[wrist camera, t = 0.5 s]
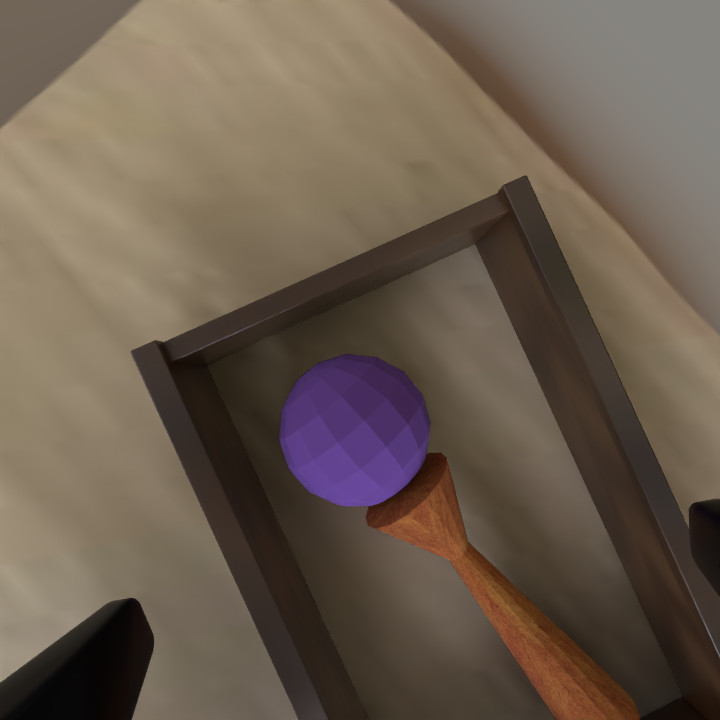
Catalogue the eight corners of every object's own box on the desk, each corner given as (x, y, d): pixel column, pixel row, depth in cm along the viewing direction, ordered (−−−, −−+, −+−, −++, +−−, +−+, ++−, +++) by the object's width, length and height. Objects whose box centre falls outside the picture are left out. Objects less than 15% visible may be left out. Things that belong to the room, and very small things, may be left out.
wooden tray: (706, 705, 21) (818, 808, 16) (411, 858, 20) (432, 1015, 15) (483, 219, 21) (526, 174, 16) (181, 355, 20) (129, 351, 15)
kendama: (573, 835, 16) (226, 442, 15) (523, 692, 22) (271, 398, 21) (711, 759, 16) (361, 331, 14) (622, 630, 22) (368, 319, 20)
